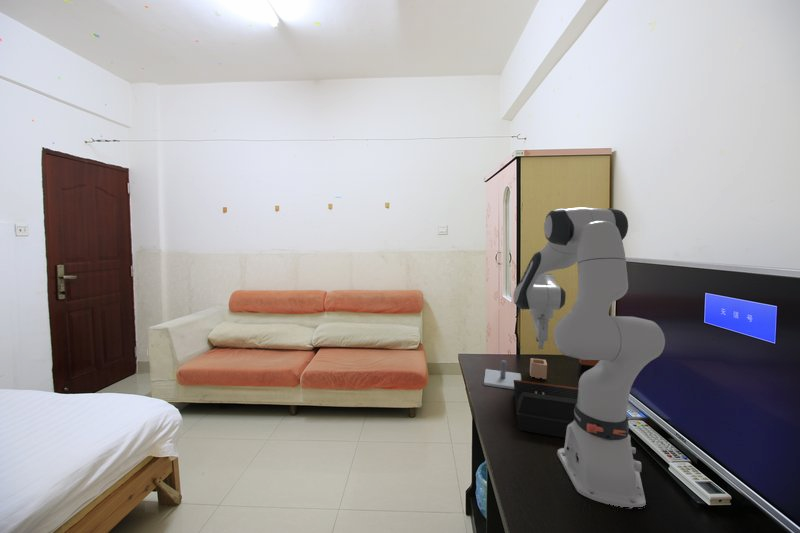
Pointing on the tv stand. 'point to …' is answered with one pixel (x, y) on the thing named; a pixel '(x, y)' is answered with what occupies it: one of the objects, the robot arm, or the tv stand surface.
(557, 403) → the video game console
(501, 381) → the keeper dock
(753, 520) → the tv stand surface
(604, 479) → the robot arm
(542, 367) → the open-ended wooden box
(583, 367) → the battery
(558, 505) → the tv stand surface
